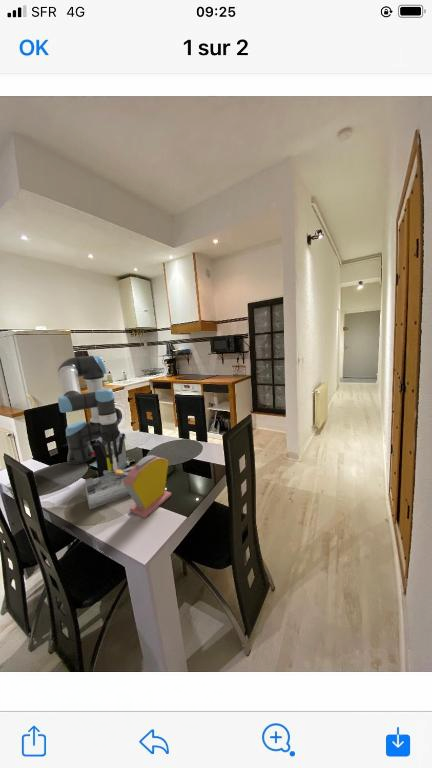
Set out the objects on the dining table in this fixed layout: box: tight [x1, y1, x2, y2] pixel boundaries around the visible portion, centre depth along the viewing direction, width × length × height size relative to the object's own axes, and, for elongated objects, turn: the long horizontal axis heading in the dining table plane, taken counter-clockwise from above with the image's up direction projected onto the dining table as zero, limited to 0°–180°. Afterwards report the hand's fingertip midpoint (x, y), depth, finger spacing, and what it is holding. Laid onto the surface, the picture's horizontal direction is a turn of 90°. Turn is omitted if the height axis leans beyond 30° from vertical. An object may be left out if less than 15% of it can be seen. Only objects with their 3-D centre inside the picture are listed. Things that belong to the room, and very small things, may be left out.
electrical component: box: [91, 435, 130, 477], centre depth 137 cm, size 18×10×20 cm, turn 168°
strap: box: [103, 469, 129, 477], centre depth 121 cm, size 6×16×2 cm, turn 123°
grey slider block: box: [84, 477, 101, 492], centre depth 115 cm, size 7×6×5 cm
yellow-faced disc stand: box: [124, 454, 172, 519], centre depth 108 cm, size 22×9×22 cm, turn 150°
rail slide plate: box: [84, 465, 135, 510], centre depth 120 cm, size 14×26×7 cm, turn 123°
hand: (115, 469), depth 119 cm, fingers closed
